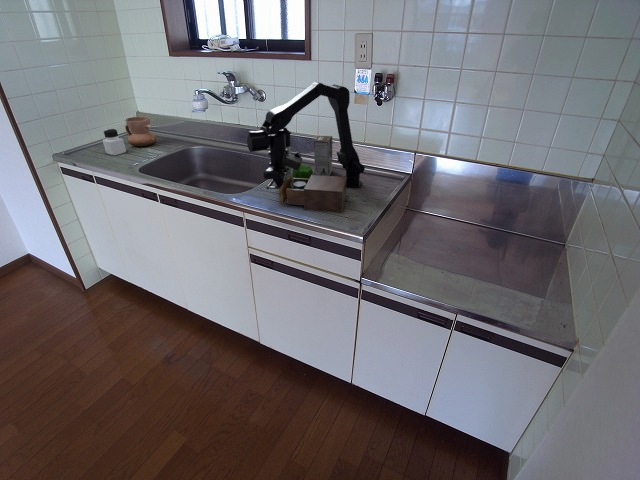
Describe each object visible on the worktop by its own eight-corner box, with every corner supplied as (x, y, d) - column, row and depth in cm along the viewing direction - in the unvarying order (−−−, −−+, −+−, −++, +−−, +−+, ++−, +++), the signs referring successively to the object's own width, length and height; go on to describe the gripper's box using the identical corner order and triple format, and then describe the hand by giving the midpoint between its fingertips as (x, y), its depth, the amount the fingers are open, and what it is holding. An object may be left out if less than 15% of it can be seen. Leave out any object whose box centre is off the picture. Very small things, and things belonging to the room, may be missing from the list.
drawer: (265, 204, 136) (263, 188, 133) (274, 190, 147) (273, 175, 144) (313, 207, 133) (313, 191, 130) (319, 193, 144) (319, 178, 141)
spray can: (295, 178, 161) (293, 131, 150) (287, 183, 155) (284, 136, 145) (281, 175, 163) (278, 130, 153) (273, 181, 158) (270, 134, 148)
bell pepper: (316, 184, 155) (316, 161, 150) (308, 191, 148) (307, 167, 143) (298, 181, 158) (297, 158, 153) (289, 188, 151) (288, 164, 146)
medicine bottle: (126, 152, 194) (120, 129, 188) (114, 155, 189) (107, 132, 182) (118, 150, 197) (112, 127, 191) (106, 153, 192) (99, 130, 186)
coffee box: (318, 170, 169) (318, 135, 161) (332, 171, 168) (332, 135, 160) (314, 177, 161) (313, 140, 153) (328, 178, 160) (329, 141, 152)
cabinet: (304, 209, 134) (303, 189, 130) (311, 194, 146) (311, 174, 142) (341, 212, 132) (342, 191, 128) (346, 196, 144) (346, 177, 139)
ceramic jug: (165, 142, 208) (159, 116, 201) (145, 150, 197) (138, 122, 190) (140, 139, 214) (134, 114, 207) (120, 146, 203) (112, 119, 196)
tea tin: (295, 193, 142) (294, 181, 139) (307, 194, 141) (307, 181, 138) (292, 198, 138) (291, 185, 135) (304, 199, 137) (304, 186, 134)
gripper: (293, 157, 122) (295, 200, 130) (305, 141, 138) (306, 180, 146) (261, 155, 124) (264, 198, 132) (276, 140, 139) (279, 179, 147)
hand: (280, 188), depth 139 cm, fingers closed
